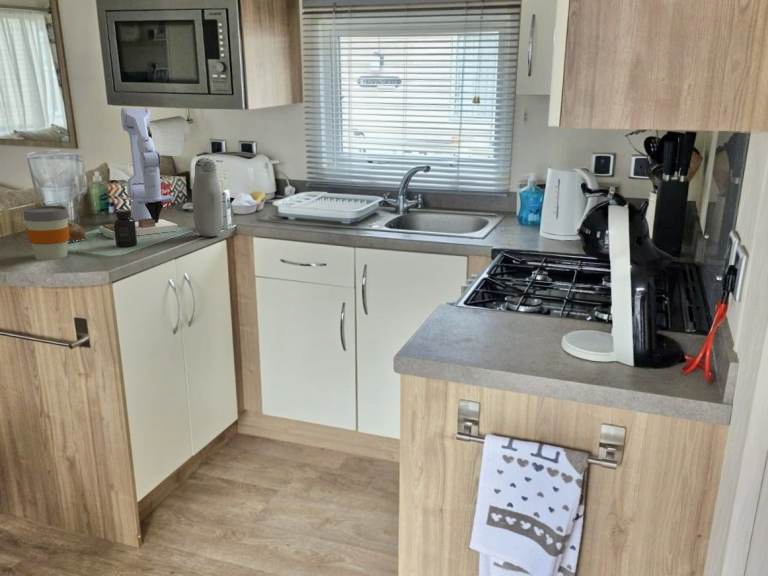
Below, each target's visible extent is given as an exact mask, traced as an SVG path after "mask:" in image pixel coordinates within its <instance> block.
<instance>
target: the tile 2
mask: <svg viewBox="0 0 768 576" xmlns="http://www.w3.org/2000/svg"><path fill="white" fill-rule="evenodd" d="M138 225H139V227H141V228H150V227H156V226H155V220H153V219H151V218H148V219H139V220H138Z"/></svg>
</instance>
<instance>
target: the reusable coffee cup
mask: <svg viewBox="0 0 768 576" xmlns="http://www.w3.org/2000/svg"><path fill="white" fill-rule="evenodd" d="M69 214H70V213H69V211H68V207H67V206H63V205H46V206H45V205H43V206H32V207H27V208H25V209H24V210H23V220H24V221H25V224H26V229H25V230H26V233H27V238H28V240H29V243H30V244H31V246H32V248H33V249H32V250H33V252H34V256H35V259H37V260H41V261H43V260H44V261H50V260H51V261H52V260H58V259H64V258H66V257H67V256H68V243H67V241H68V240H69V225H68V223H69V217H70V215H69Z"/></svg>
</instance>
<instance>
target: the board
mask: <svg viewBox="0 0 768 576" xmlns="http://www.w3.org/2000/svg"><path fill="white" fill-rule="evenodd" d="M178 225H179V224H177V223H174V222H171V221H169V220H165V219H163V218H161V219H159V220H158V223H155V226H156V227H150V228H141V227H139V225H138V222H135V226H136V229H138V235H144V236H146V235H145V234H152V233H158V232H164V231H170V230H178V231H179V226H178ZM152 235H153V234H152Z"/></svg>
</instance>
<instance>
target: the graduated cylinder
mask: <svg viewBox="0 0 768 576" xmlns="http://www.w3.org/2000/svg"><path fill="white" fill-rule="evenodd" d="M221 190H222V201H223V227H222V230H229V229H230V228H232V227H233V223H232V222H233V221H232V209H231V207H232V206H231V194H230V190H229V189H225V188H224V189H222V188H221Z"/></svg>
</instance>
